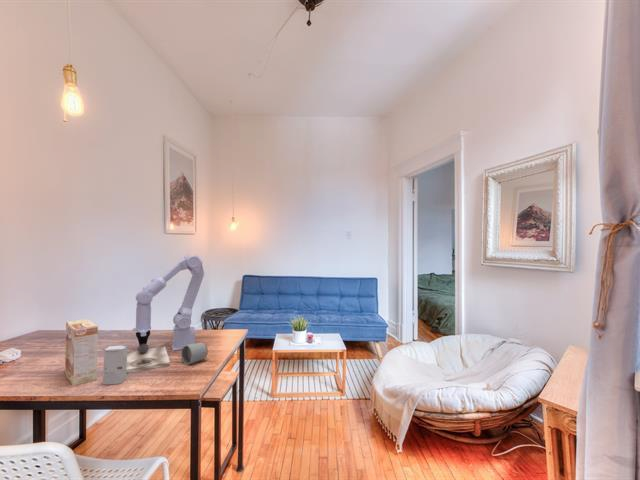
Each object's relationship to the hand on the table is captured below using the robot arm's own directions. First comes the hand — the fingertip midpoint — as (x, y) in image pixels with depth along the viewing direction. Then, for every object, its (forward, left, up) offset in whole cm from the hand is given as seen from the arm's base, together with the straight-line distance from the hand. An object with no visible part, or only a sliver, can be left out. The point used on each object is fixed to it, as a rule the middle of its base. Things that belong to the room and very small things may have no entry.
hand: (142, 348), depth 134 cm
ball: (0, +4, +1) cm, 4 cm away
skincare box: (+9, +27, -3) cm, 28 cm away
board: (0, +10, -2) cm, 10 cm away
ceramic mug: (-18, +20, -3) cm, 27 cm away
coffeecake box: (+20, +16, -3) cm, 26 cm away
